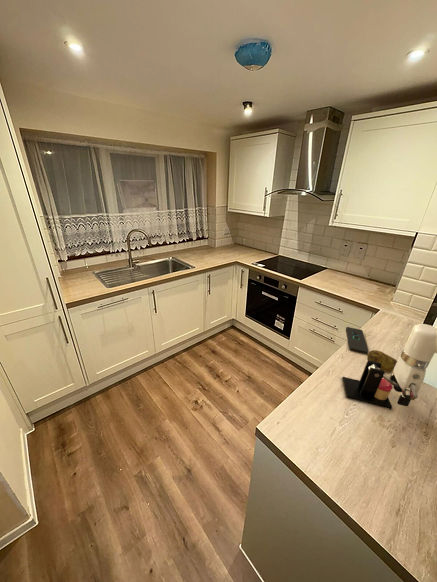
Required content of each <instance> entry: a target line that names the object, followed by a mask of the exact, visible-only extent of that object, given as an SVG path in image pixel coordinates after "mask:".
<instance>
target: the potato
mask: <svg viewBox="0 0 437 582" xmlns="http://www.w3.org/2000/svg"><path fill="white" fill-rule="evenodd" d="M366 360H367V361H368V360H369V361H374V362H379V363H381V364H382V365H381V367H380V370H384V371H385V372H387V373H388V372H393V367H394V364H395V361H396V362H397V361H398V359H395V358H394V357H392V356H390V355H388V354H386V353H384V352H383V351H380V350H377V349H373V350H370V351H368V354H367V358H366Z"/></svg>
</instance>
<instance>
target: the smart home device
mask: <svg viewBox="0 0 437 582" xmlns="http://www.w3.org/2000/svg"><path fill="white" fill-rule="evenodd" d="M345 333H346V339H347V346H348V351H350V352H354V353H360V354H364V355H368V353H369V348H368V344H367V342H366V337H365V335H364V331H363V329H359V328H354V327H350V326H346V328H345Z"/></svg>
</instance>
